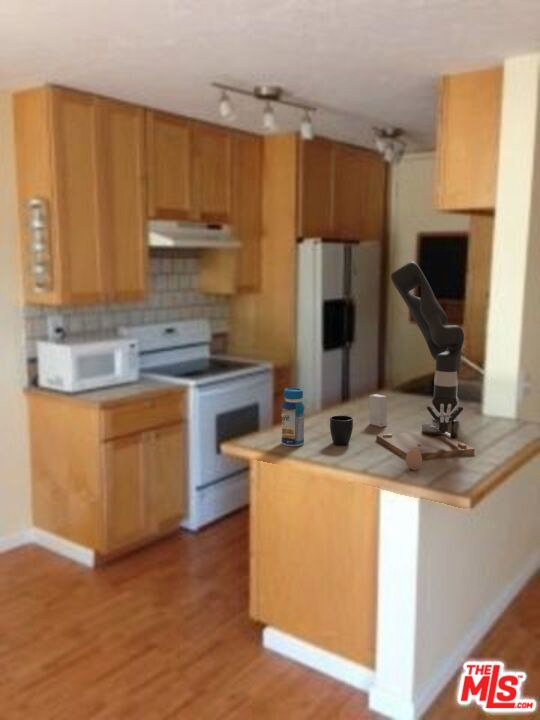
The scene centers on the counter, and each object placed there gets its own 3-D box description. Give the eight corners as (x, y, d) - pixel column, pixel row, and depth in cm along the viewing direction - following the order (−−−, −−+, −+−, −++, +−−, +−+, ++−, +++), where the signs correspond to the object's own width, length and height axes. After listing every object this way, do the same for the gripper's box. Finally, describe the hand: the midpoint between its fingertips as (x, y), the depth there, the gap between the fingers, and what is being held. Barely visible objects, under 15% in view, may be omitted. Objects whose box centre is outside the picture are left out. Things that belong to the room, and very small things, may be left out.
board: (436, 435, 255) (437, 427, 254) (474, 454, 231) (474, 446, 230) (376, 440, 248) (376, 432, 247) (408, 460, 224) (408, 451, 223)
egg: (406, 466, 218) (406, 446, 217) (422, 468, 216) (423, 447, 215) (404, 471, 213) (405, 450, 212) (421, 473, 211) (421, 452, 210)
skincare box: (387, 425, 268) (388, 396, 266) (379, 427, 266) (380, 397, 264) (375, 422, 273) (376, 393, 271) (368, 424, 270) (369, 394, 268)
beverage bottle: (306, 446, 239) (307, 391, 236) (283, 447, 238) (283, 392, 235) (301, 439, 248) (302, 386, 244) (279, 440, 246) (279, 387, 243)
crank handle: (417, 429, 254) (418, 408, 253) (439, 428, 256) (441, 407, 254) (443, 445, 233) (444, 422, 232) (467, 444, 235) (468, 421, 233)
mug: (357, 439, 249) (358, 414, 247) (348, 447, 238) (349, 421, 236) (336, 436, 252) (336, 412, 250) (326, 445, 241) (327, 419, 239)
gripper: (428, 385, 228) (425, 435, 230) (467, 385, 227) (464, 435, 230) (424, 381, 235) (421, 429, 238) (462, 381, 235) (459, 430, 237)
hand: (442, 432), depth 234 cm, fingers closed
